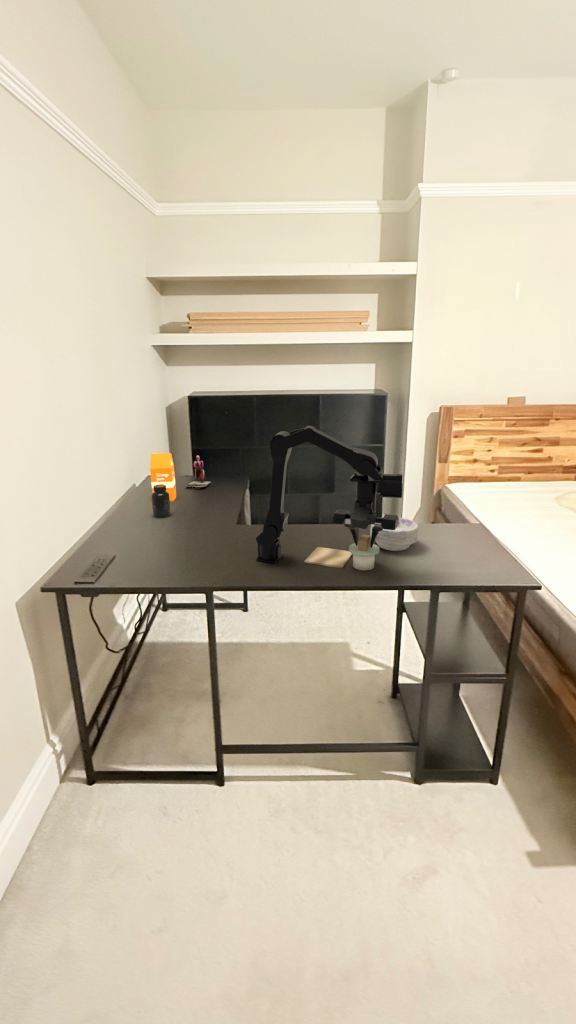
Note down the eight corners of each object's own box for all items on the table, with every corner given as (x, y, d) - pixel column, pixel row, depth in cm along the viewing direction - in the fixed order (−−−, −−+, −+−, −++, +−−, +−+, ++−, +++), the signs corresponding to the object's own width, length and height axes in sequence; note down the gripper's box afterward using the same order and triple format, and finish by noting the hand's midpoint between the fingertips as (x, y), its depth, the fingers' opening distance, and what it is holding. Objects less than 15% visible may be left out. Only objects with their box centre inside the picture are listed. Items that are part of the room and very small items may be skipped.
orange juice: (156, 496, 231) (152, 451, 225) (176, 495, 232) (172, 451, 225) (153, 501, 224) (148, 455, 217) (174, 501, 224) (170, 455, 218)
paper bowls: (418, 540, 178) (420, 517, 175) (414, 557, 164) (416, 533, 162) (373, 535, 182) (374, 514, 180) (366, 552, 169) (367, 528, 166)
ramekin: (350, 568, 157) (350, 552, 155) (356, 560, 162) (356, 545, 161) (371, 571, 154) (372, 555, 153) (376, 563, 160) (377, 548, 159)
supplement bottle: (149, 517, 205) (146, 487, 201) (159, 511, 211) (156, 482, 207) (165, 518, 203) (162, 488, 199) (174, 513, 209) (171, 484, 205)
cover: (345, 553, 155) (345, 541, 153) (353, 543, 162) (353, 531, 161) (375, 558, 151) (375, 545, 150) (382, 547, 159) (383, 534, 158)
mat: (304, 562, 161) (304, 560, 161) (317, 548, 172) (317, 546, 172) (342, 568, 157) (342, 566, 157) (353, 553, 167) (353, 551, 167)
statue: (192, 485, 252) (191, 454, 249) (211, 486, 250) (210, 454, 247) (184, 489, 241) (182, 456, 238) (203, 489, 240) (202, 456, 237)
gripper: (326, 500, 148) (325, 552, 153) (392, 507, 141) (389, 561, 146) (338, 490, 158) (337, 538, 163) (400, 496, 151) (397, 546, 156)
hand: (364, 546), depth 156 cm, fingers open, 4 cm apart
